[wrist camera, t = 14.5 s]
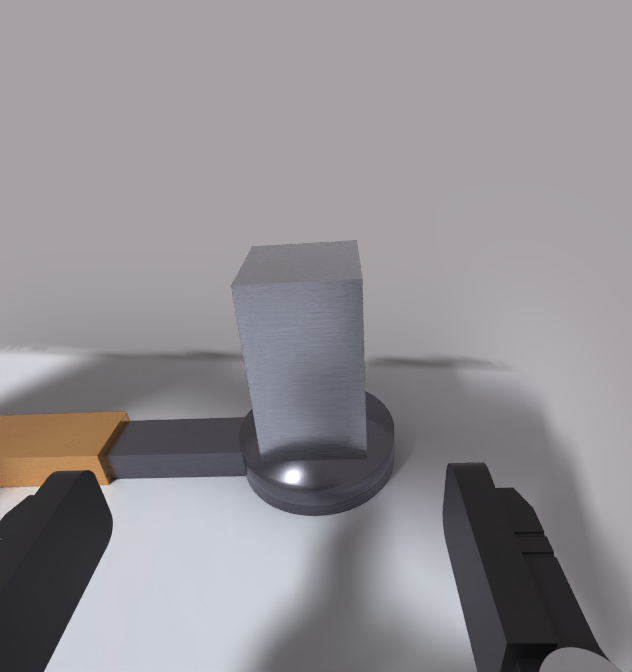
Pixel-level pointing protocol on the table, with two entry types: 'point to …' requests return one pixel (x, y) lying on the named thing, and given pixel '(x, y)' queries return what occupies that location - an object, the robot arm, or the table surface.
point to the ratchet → (193, 455)
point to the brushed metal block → (304, 349)
